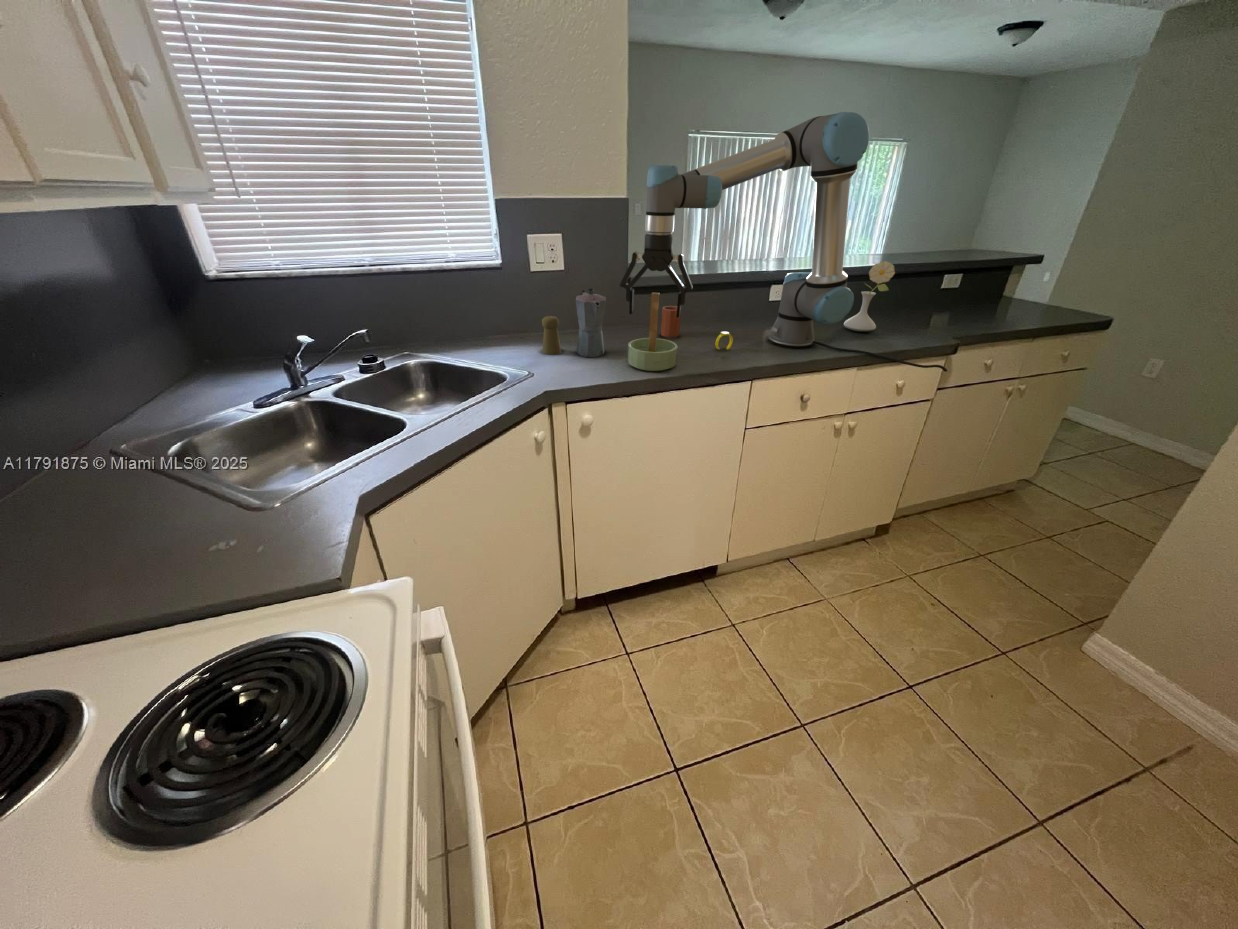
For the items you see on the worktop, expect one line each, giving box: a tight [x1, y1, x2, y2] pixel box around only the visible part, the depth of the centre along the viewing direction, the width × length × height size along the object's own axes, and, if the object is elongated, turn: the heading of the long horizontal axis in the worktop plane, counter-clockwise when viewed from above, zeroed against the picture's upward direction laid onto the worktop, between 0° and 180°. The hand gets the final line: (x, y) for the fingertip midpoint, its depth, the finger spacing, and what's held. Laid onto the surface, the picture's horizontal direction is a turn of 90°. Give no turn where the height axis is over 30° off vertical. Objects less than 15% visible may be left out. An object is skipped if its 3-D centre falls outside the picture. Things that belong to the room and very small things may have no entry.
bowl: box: [627, 337, 678, 372], centre depth 145 cm, size 15×15×6 cm
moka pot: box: [575, 288, 607, 358], centre depth 150 cm, size 10×15×20 cm, turn 27°
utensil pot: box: [660, 305, 682, 338], centre depth 170 cm, size 6×6×10 cm
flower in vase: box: [843, 260, 896, 333], centre depth 179 cm, size 13×11×25 cm
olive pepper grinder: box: [541, 315, 562, 356], centre depth 153 cm, size 6×6×11 cm
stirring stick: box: [648, 291, 660, 352], centre depth 142 cm, size 2×2×20 cm
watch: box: [714, 330, 734, 351], centre depth 159 cm, size 6×3×6 cm, turn 114°
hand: (654, 314), depth 139 cm, fingers open, 13 cm apart
